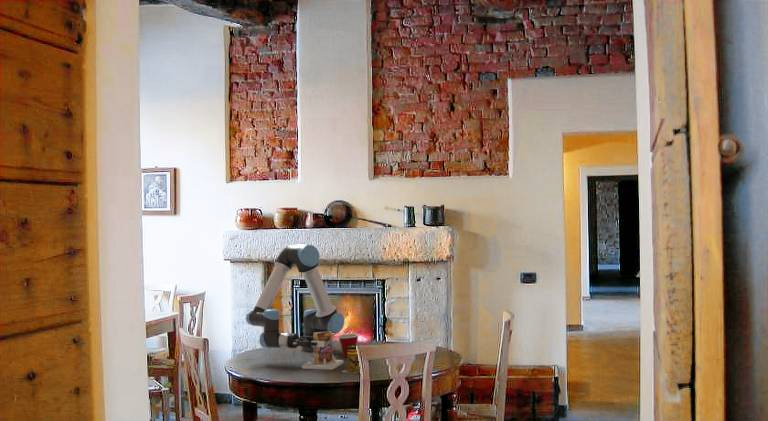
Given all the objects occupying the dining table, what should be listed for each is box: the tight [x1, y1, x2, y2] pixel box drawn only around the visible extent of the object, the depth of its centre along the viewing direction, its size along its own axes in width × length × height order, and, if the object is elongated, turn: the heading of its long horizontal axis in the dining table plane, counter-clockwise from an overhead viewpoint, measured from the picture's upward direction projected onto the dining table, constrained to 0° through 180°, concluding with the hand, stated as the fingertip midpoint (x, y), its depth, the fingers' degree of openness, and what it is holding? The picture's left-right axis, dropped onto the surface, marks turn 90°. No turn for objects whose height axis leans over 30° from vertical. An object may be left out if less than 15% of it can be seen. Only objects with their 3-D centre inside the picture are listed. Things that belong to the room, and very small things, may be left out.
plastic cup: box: [337, 333, 359, 359], centre depth 342 cm, size 11×11×12 cm
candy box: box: [312, 331, 333, 364], centre depth 322 cm, size 9×4×15 cm, turn 125°
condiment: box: [341, 345, 361, 374], centre depth 307 cm, size 7×8×12 cm
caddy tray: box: [301, 354, 344, 370], centre depth 322 cm, size 16×16×4 cm
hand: (328, 341), depth 321 cm, fingers open, 13 cm apart
